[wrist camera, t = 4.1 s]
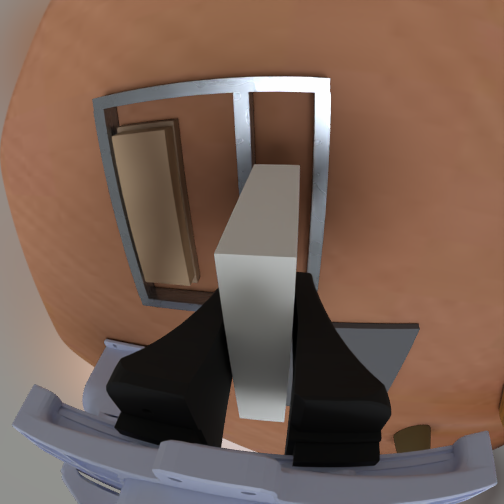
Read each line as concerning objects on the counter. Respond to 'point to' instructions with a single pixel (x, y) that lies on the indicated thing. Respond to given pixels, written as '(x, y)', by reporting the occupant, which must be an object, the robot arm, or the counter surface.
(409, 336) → the mat
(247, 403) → the gray rectangular block
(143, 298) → the rack
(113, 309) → the counter surface
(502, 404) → the pancake mix bag
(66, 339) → the counter surface
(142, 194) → the offcut stack
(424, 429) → the olive pawn
